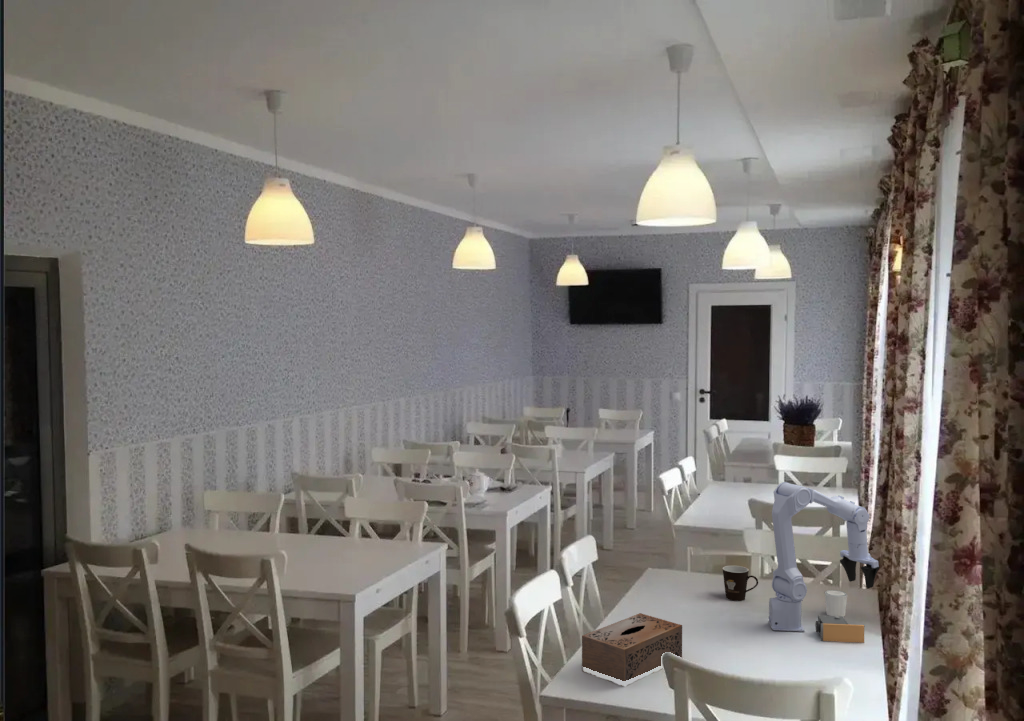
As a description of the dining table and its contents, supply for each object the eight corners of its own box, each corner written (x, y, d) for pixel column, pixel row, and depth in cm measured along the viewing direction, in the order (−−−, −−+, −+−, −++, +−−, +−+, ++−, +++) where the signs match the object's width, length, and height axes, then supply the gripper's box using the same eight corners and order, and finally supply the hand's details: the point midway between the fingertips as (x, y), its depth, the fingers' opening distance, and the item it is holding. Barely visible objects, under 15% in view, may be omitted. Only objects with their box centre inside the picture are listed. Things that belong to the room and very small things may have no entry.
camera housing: (818, 639, 256) (819, 621, 256) (813, 631, 263) (814, 613, 263) (847, 641, 255) (848, 622, 255) (842, 632, 262) (842, 614, 262)
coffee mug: (717, 596, 298) (717, 567, 297) (737, 592, 301) (737, 564, 301) (739, 606, 287) (739, 576, 287) (760, 602, 291) (760, 572, 291)
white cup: (843, 611, 282) (844, 589, 281) (849, 618, 275) (850, 596, 275) (821, 610, 282) (822, 589, 282) (827, 617, 276) (827, 595, 275)
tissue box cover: (640, 647, 252) (640, 613, 252) (682, 660, 242) (682, 625, 241) (582, 672, 234) (581, 635, 234) (624, 688, 224) (624, 649, 223)
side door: (820, 640, 255) (821, 624, 255) (820, 639, 256) (820, 623, 256) (864, 642, 254) (864, 625, 253) (863, 641, 254) (863, 624, 254)
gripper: (884, 544, 270) (888, 587, 271) (850, 534, 283) (854, 575, 284) (867, 549, 267) (870, 592, 268) (833, 539, 281) (837, 579, 282)
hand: (861, 583), depth 276 cm, fingers open, 7 cm apart
